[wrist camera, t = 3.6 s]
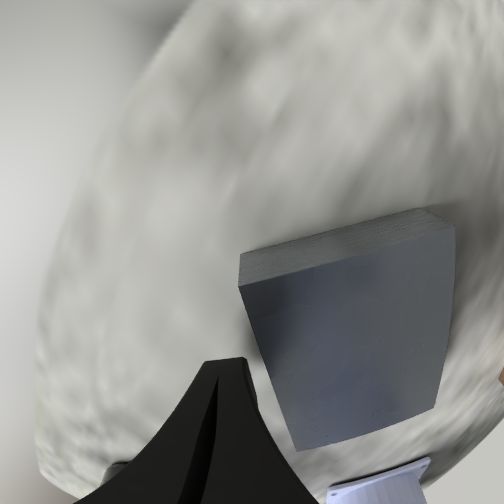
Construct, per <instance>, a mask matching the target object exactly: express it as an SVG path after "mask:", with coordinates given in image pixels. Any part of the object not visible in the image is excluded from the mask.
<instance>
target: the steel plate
mask: <svg viewBox="0 0 504 504" xmlns="http://www.w3.org/2000/svg"><path fill="white" fill-rule="evenodd" d="M455 261H456V226H454V225H453V224H451V223H449V222H447V221H445V220H443V219H441V218H439V217H437V216H435V215H433V214H431V213H428V212H426V211H424V210H422V209H420V208H415V209H412V210H408V211H404V212H400V213H396V214H392V215H389V216H385V217H381V218H377V219H373V220H369V221H366V222H362V223H358V224H354V225H350V226H346V227H343V228H339V229H335V230H331V231H327V232H323V233H320V234H316V235H312V236H308V237H304V238H301V239H297V240H293V241H289V242H285V243H281V244H278V245H274V246H270V247H266V248H262V249H259V250H255V251H251V252H247V253H243V254H240V267H239V281H238V287H239V290H240V293H241V296H242V299H243V302H244V305H245V308H246V311H247V314H248V317H249V320H250V323H251V326H252V329H253V332H254V335H255V338H256V340H257V343H258V346H259V349H260V352H261V355H262V358H263V360H264V363H265V366H266V369H267V372H268V375H269V377H270V380H271V383H272V386H273V389H274V391H275V394H276V397H277V400H278V402H279V405H280V408H281V411H282V413H283V416H284V419H285V422H286V424H287V427H288V430H289V432H290V435H291V438H292V440H293V443H294V446H295V448H296V451H297V452H299V451H304V450H308V449H313V448H317V447H321V446H325V445H329V444H333V443H337V442H341V441H344V440H348V439H351V438H355V437H358V436H361V435H365V434H368V433H371V432H374V431H377V430H380V429H383V428H385V427H388V426H391V425H394V424H396V423H399V422H401V421H404V420H407V419H409V418H411V417H414V416H416V415H419V414H421V413H423V412H426V411H428V410H430V409H432V408H434V404H435V401H436V397H437V393H438V389H439V385H440V380H441V376H442V371H443V366H444V361H445V356H446V350H447V344H448V338H449V331H450V324H451V316H452V307H453V296H454V283H455Z"/></svg>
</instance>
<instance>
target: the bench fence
mask: <svg viewBox="0 0 504 504" xmlns="http://www.w3.org/2000/svg"><path fill="white" fill-rule="evenodd" d="M499 380H500V382H501V383H502V384H503V386H504V368H503V371H502V373H501V375H500V377H499Z"/></svg>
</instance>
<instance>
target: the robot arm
mask: <svg viewBox="0 0 504 504" xmlns="http://www.w3.org/2000/svg"><path fill="white" fill-rule="evenodd" d="M430 462H431V459H430V457H425V458H423V459H421V460H418V461H415V462H413V463H410V464H408V465H405V466H402V467H399V468H396V469H394V470H391V471H388V472H384V473H381V474H378V475H375V476H371V477H368V478H364V479H361V480H357V481H353V482H349V483H345V484H341V485H336V486H332V487H330V488H328V489H327V497H326V504H427V502H426V499H425V497H424V494H423V491H422V489H421V486H420V483H419V481H418V480H419V479H420V477H421V476H422V474H423V473H424V471H425V470H426V468H427V467H428V465H429V463H430ZM73 504H319V503H318V502H317V501H316V499H315V498H314V497H313V496H312V495H311V494H310V492H309V491H308V490H307V488H306V487H305V486H304V485H303V483H302V482H301V481H300V479H299V478H298V477H297V475H296V474H295V473H294V471H293V470H292V469H291V467H290V466H289V464H288V463H287V461H286V460H285V458H284V457H283V455H282V453H281V452H280V450H279V449H278V447H277V445H276V444H275V442H274V440H273V438H272V436H271V435H270V433H269V431H268V429H267V427H266V425H265V423H264V421H263V419H262V416H261V414H260V412H259V410H258V403H257V395H256V392H255V388H254V384H253V381H252V377H251V373H250V370H249V366H248V362H247V359H246V358H244V357H237V358H229V359H221V360H212V361H205V362H204V363H203V364H202V366H201V368H200V370H199V371H198V373H197V375H196V376H195V378H194V380H193V382H192V383H191V385H190V386H189V388H188V390H187V391H186V393H185V394H184V396H183V397H182V399H181V401H180V402H179V404H178V405H177V407H176V408H175V410H174V411H173V412H172V414H171V415H170V417H169V418H168V419H167V421H166V422H165V423H164V424H163V426H162V427H161V428H160V430H159V431H158V432H157V434H156V435H155V436H154V437H153V438H152V440H151V441H150V442H149V443H148V444H147V445H146V446H145V447H144V448H143V450H142V451H141V452H140V453H139V454H138V455H137V456H136V457H135V458H134V459H133V460H132V461H131V462H129V463H128V464H127V465H126V466H125V467H124V468H123V469H122V470H121V471H120V472H118V473H117V474H116V475H115V476H114V477H112V478H111V479H110V480H108V481H107V482H106V483H104V484H103V485H102V486H100V487H99V488H97V489H96V490H95V491H93V492H92V493H90V494H89V495H87V496H85V497H84V498H82V499H81V500H79V501H77V502H75V503H73Z"/></svg>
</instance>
